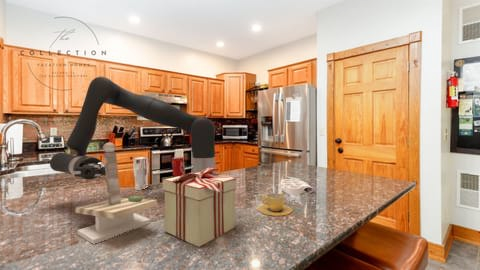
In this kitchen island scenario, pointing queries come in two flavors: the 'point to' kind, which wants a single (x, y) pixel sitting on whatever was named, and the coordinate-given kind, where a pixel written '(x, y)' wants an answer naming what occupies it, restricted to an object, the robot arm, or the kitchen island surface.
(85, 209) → the platform
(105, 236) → the deck stand
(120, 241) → the kitchen island surface
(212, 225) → the gift box
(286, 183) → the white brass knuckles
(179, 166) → the beverage can
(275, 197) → the cup
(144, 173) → the beer glass
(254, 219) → the kitchen island surface
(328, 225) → the kitchen island surface
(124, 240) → the kitchen island surface
